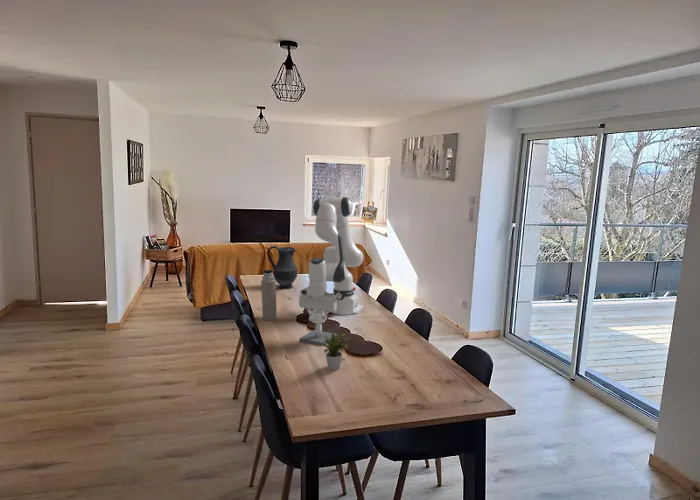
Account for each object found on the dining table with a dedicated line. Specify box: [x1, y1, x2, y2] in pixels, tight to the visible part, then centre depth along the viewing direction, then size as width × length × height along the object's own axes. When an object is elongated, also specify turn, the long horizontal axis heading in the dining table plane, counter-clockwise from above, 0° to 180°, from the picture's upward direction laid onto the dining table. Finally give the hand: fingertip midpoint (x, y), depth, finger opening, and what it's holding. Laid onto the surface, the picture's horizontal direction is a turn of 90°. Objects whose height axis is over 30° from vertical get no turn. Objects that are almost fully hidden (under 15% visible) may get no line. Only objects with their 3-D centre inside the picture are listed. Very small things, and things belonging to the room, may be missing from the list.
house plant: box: [320, 330, 349, 371], centre depth 208 cm, size 14×14×16 cm
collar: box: [308, 309, 326, 324], centre depth 241 cm, size 10×6×5 cm, turn 153°
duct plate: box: [298, 323, 339, 347], centre depth 244 cm, size 14×14×8 cm
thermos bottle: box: [260, 269, 278, 321], centre depth 275 cm, size 8×8×28 cm
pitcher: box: [266, 245, 298, 290], centre depth 343 cm, size 17×21×30 cm
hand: (318, 318), depth 242 cm, fingers closed on collar, 6 cm apart
